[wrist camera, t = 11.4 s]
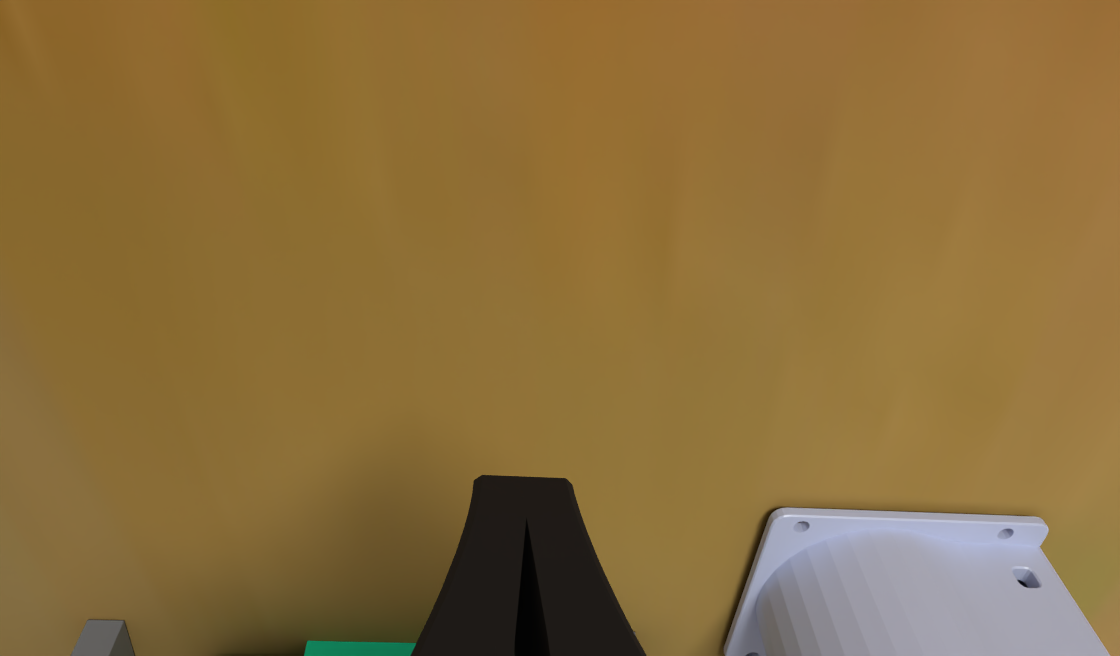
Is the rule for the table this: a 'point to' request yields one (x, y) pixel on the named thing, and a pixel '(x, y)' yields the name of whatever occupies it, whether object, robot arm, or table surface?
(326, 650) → the camera mount
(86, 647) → the dock
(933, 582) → the robot arm
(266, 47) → the table surface
